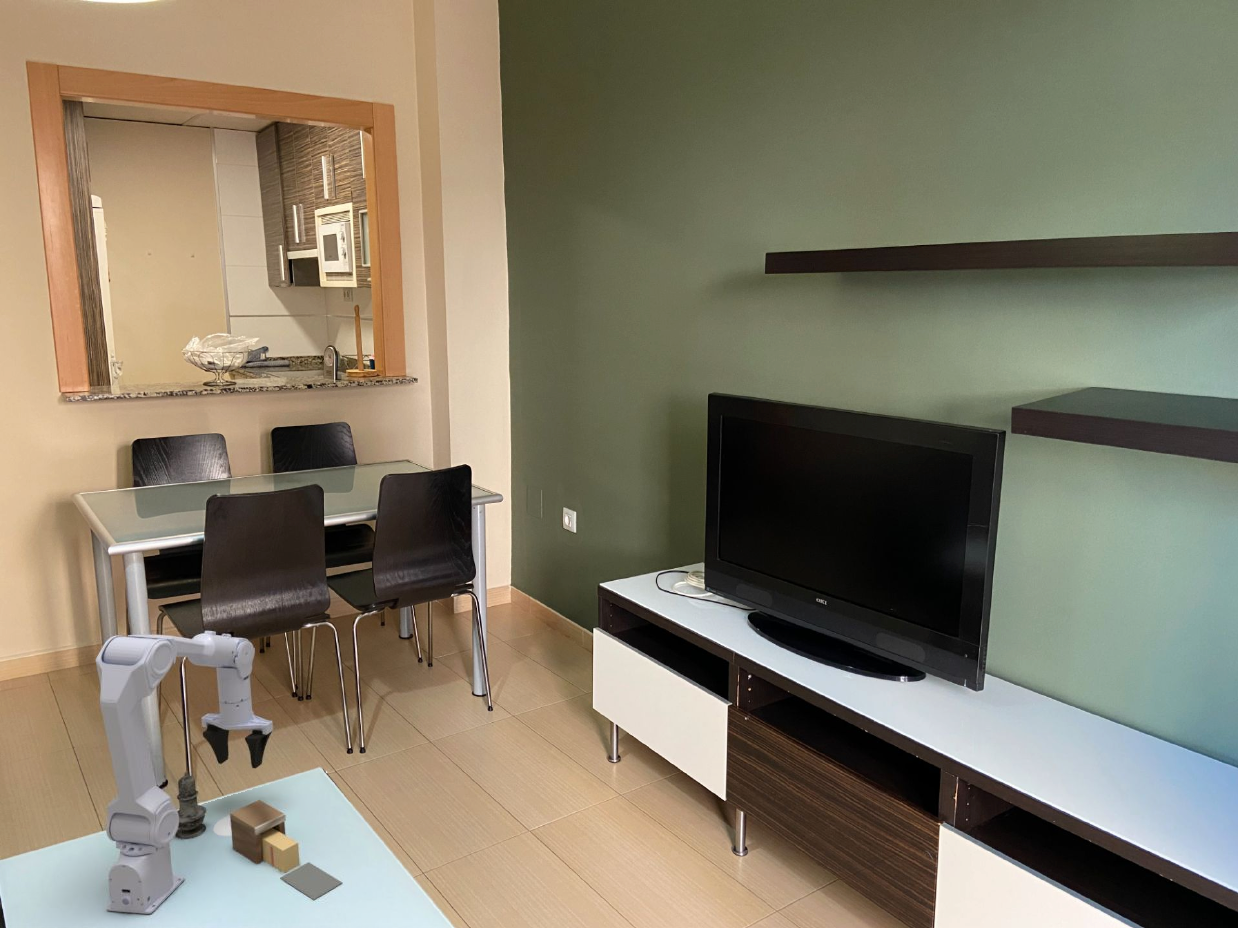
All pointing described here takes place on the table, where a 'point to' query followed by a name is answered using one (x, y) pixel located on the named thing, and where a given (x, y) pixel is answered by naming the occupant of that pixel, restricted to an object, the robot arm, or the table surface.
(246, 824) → the brown wooden open box
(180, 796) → the grey stone finial
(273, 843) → the tan rectangular block
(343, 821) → the table surface
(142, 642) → the robot arm
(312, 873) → the mat
